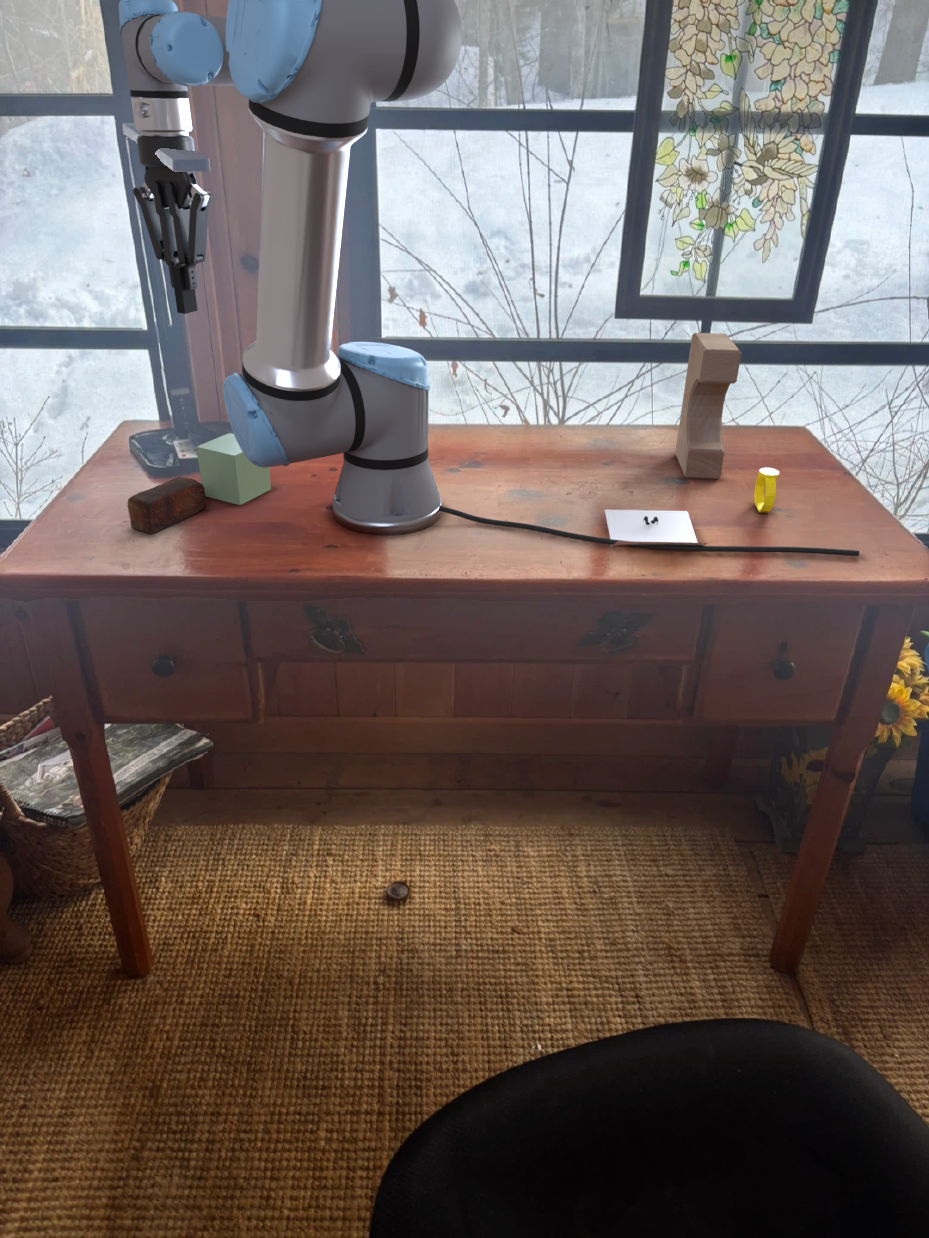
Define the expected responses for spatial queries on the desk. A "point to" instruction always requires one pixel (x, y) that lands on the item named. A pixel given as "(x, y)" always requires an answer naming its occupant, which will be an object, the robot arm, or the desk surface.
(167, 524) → the brick
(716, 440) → the decorative block
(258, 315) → the robot arm
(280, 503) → the desk surface
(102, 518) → the desk surface
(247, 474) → the green block
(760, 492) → the watch
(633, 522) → the folded paper
